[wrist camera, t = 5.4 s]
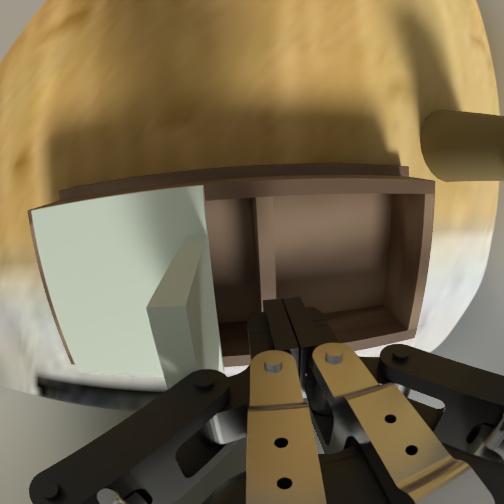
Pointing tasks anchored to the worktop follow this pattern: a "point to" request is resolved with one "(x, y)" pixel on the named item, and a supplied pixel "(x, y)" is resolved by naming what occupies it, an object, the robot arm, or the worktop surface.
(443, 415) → the robot arm
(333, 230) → the caddy
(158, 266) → the lid
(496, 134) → the olive rounded piece
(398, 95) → the worktop surface
